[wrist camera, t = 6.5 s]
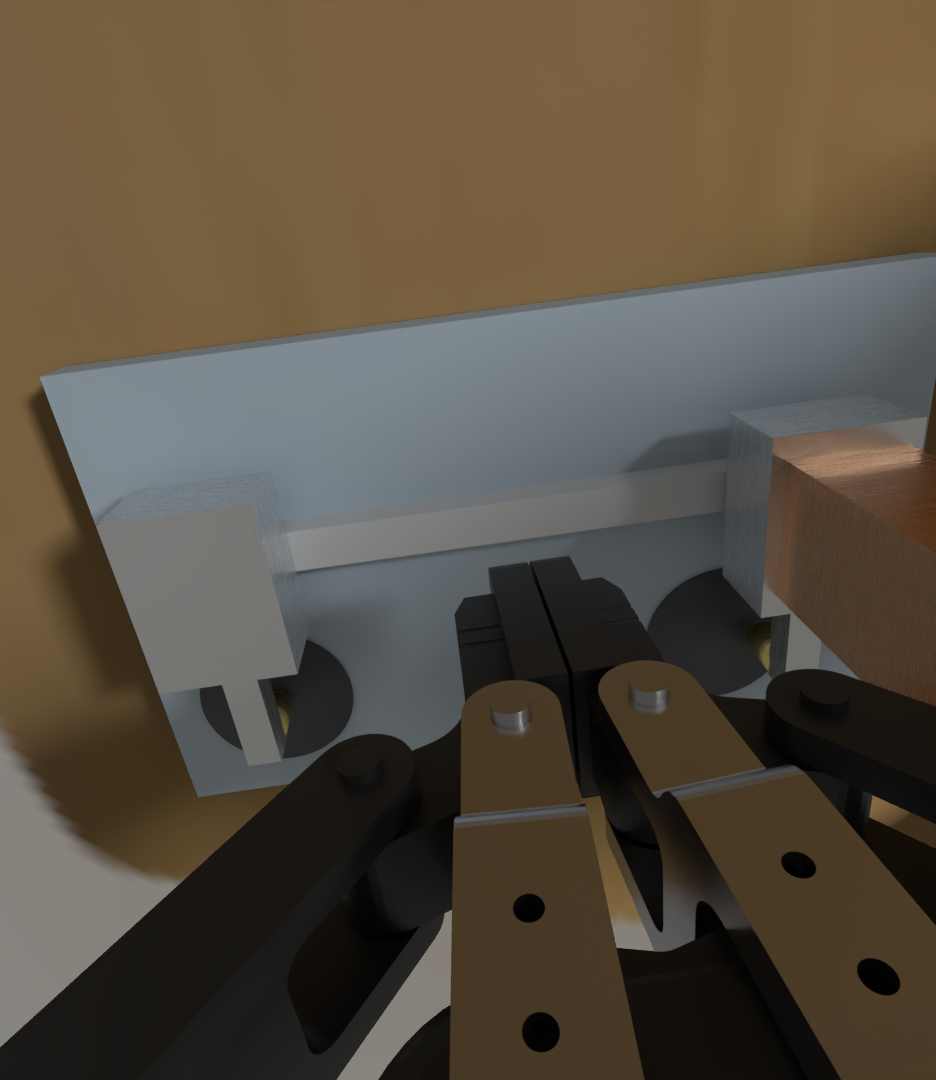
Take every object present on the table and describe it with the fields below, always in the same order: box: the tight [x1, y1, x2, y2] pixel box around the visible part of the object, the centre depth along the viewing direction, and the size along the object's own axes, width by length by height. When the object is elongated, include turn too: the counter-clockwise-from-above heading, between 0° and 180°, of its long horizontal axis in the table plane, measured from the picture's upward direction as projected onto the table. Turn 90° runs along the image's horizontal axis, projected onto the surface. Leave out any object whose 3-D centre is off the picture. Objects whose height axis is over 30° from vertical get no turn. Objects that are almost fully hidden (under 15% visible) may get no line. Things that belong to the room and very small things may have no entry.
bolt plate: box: [40, 252, 936, 797], centre depth 18 cm, size 20×12×2 cm, turn 97°
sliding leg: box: [723, 394, 936, 706], centre depth 13 cm, size 3×7×9 cm, turn 7°
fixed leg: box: [96, 471, 310, 766], centre depth 16 cm, size 3×7×2 cm, turn 7°
